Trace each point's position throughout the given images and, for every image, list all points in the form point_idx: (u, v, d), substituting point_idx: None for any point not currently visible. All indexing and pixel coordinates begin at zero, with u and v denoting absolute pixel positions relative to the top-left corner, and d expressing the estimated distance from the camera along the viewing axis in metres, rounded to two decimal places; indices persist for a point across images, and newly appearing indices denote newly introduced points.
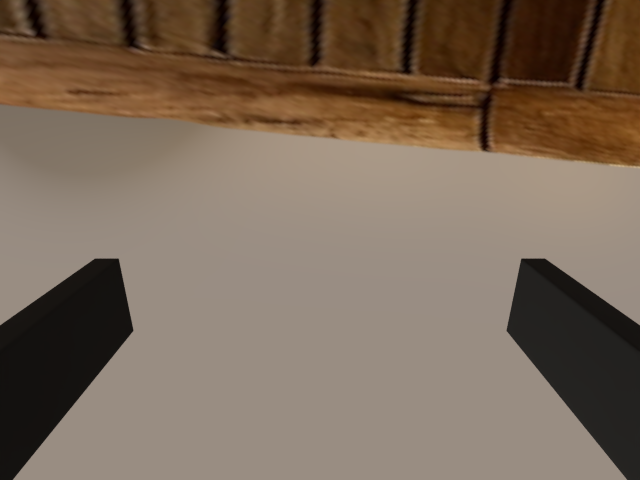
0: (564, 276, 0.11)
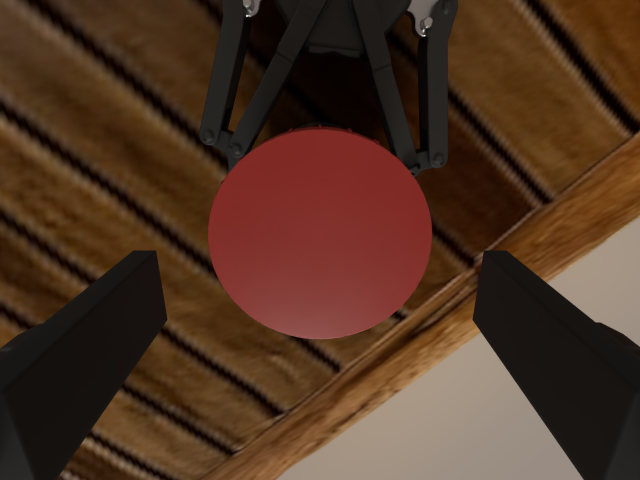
0: (520, 266, 0.11)
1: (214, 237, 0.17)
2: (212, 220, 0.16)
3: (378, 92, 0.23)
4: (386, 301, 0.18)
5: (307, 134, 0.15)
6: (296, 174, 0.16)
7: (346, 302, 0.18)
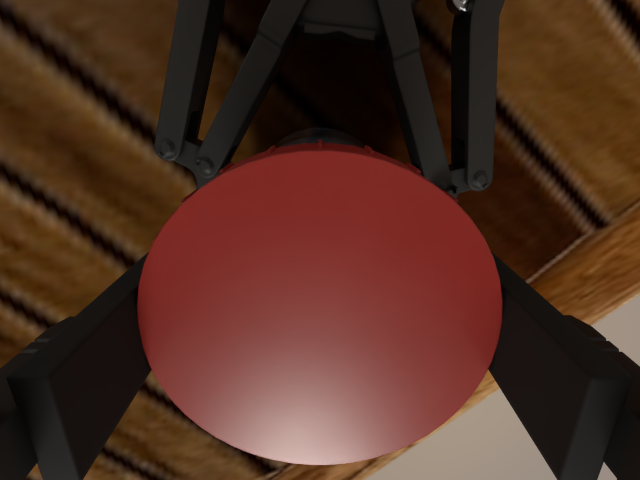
0: (497, 262, 0.12)
1: (148, 323, 0.10)
2: (142, 297, 0.10)
3: (400, 89, 0.17)
4: (423, 414, 0.11)
5: (298, 159, 0.09)
6: (280, 225, 0.09)
7: (361, 416, 0.11)
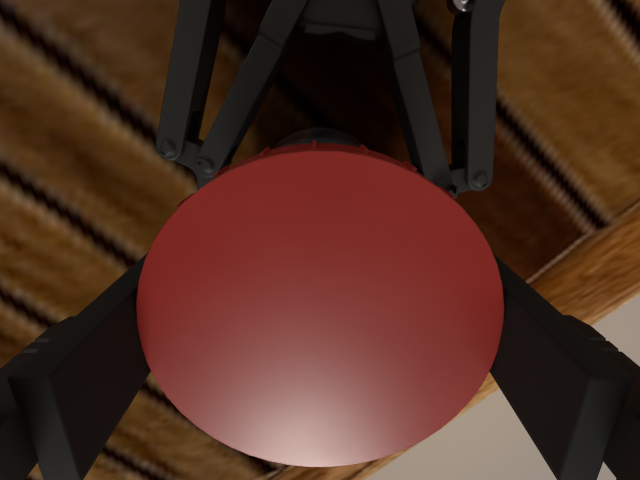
0: (497, 261, 0.12)
1: (303, 460, 0.12)
2: (278, 460, 0.12)
3: (400, 89, 0.17)
4: (441, 230, 0.09)
5: (147, 346, 0.10)
6: (206, 362, 0.11)
7: (432, 298, 0.10)
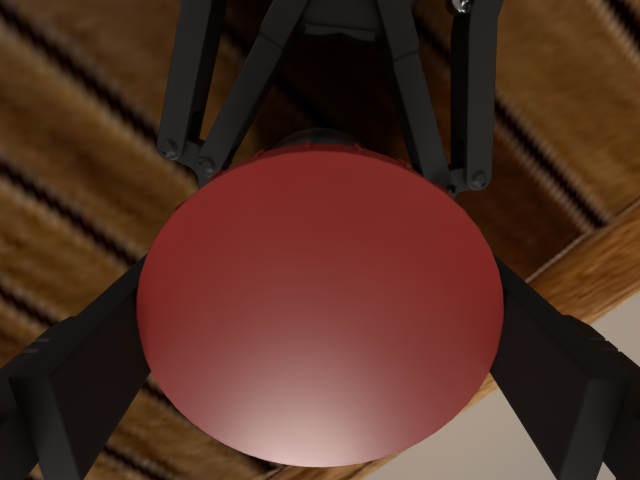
0: (497, 261, 0.12)
1: (485, 356, 0.10)
2: (480, 379, 0.11)
3: (400, 89, 0.17)
4: (199, 230, 0.09)
5: (326, 463, 0.12)
6: (345, 426, 0.11)
7: (276, 233, 0.09)
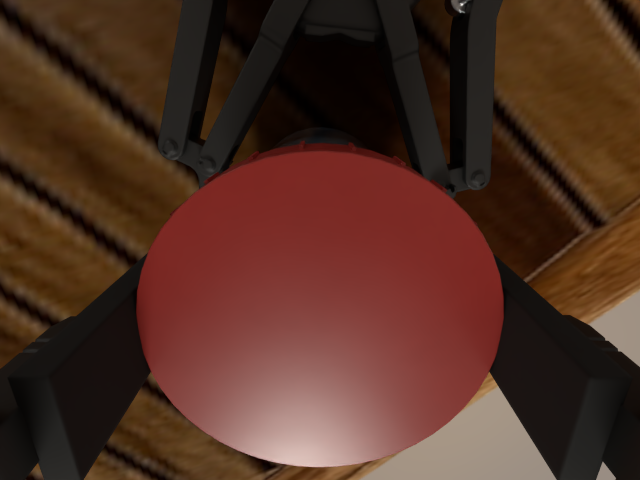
0: (497, 261, 0.12)
1: (355, 166, 0.09)
2: (389, 169, 0.09)
3: (399, 89, 0.17)
4: (215, 416, 0.11)
5: (495, 335, 0.10)
6: (441, 315, 0.10)
7: (213, 365, 0.11)
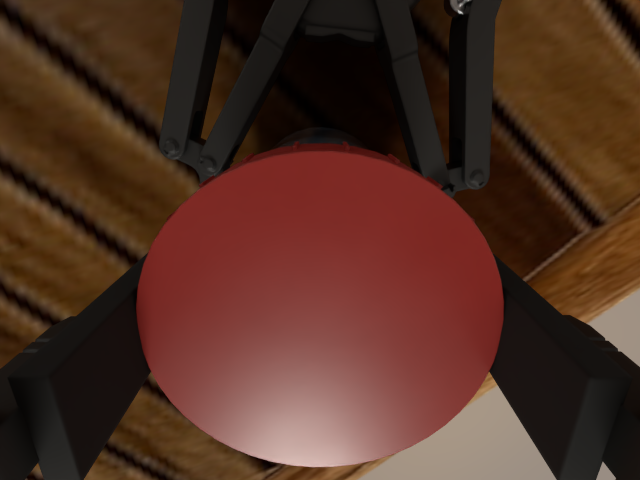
0: (497, 261, 0.12)
1: (146, 305, 0.10)
2: (145, 278, 0.10)
3: (399, 89, 0.17)
4: (410, 426, 0.11)
5: (325, 158, 0.09)
6: (296, 222, 0.09)
7: (348, 421, 0.11)
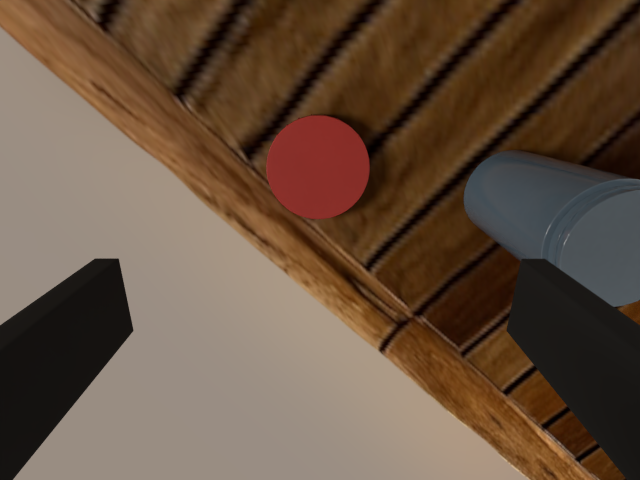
0: (564, 276, 0.11)
1: (270, 159, 0.36)
2: (270, 151, 0.36)
3: None
4: (345, 202, 0.37)
5: (319, 117, 0.34)
6: (312, 134, 0.35)
7: (327, 200, 0.37)
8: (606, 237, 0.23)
